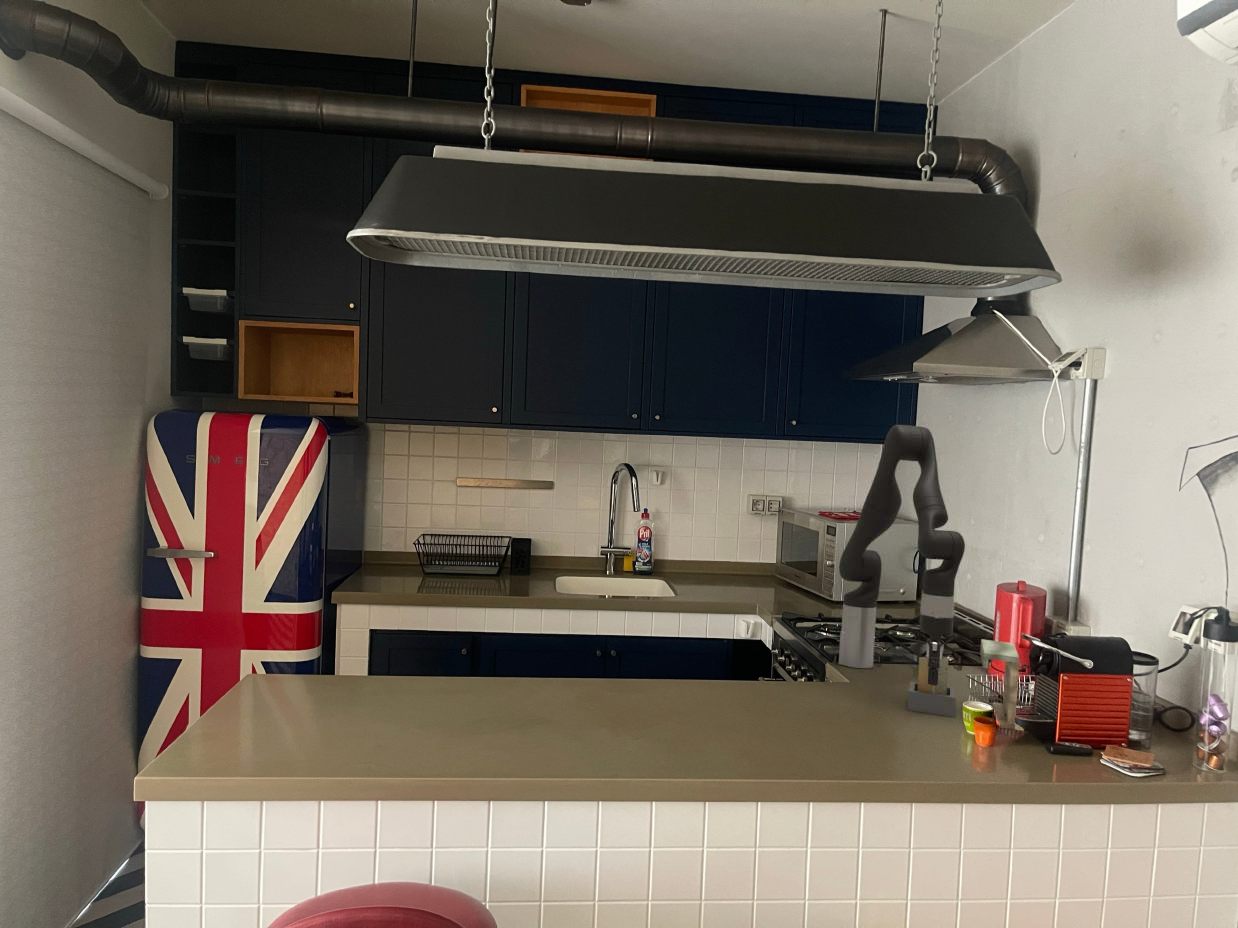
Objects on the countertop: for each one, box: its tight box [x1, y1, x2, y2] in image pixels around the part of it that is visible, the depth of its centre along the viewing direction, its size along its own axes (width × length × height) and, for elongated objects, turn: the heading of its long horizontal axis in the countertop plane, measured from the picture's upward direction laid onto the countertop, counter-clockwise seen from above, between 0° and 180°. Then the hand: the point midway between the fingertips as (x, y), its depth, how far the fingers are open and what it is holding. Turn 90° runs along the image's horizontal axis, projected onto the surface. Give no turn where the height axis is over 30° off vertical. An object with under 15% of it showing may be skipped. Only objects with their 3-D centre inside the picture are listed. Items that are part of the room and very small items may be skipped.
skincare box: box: [917, 655, 949, 695], centre depth 207 cm, size 6×4×12 cm
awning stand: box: [979, 638, 1025, 732], centre depth 202 cm, size 10×18×16 cm, turn 159°
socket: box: [907, 681, 957, 718], centre depth 207 cm, size 10×10×4 cm
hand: (932, 680), depth 207 cm, fingers open, 8 cm apart
